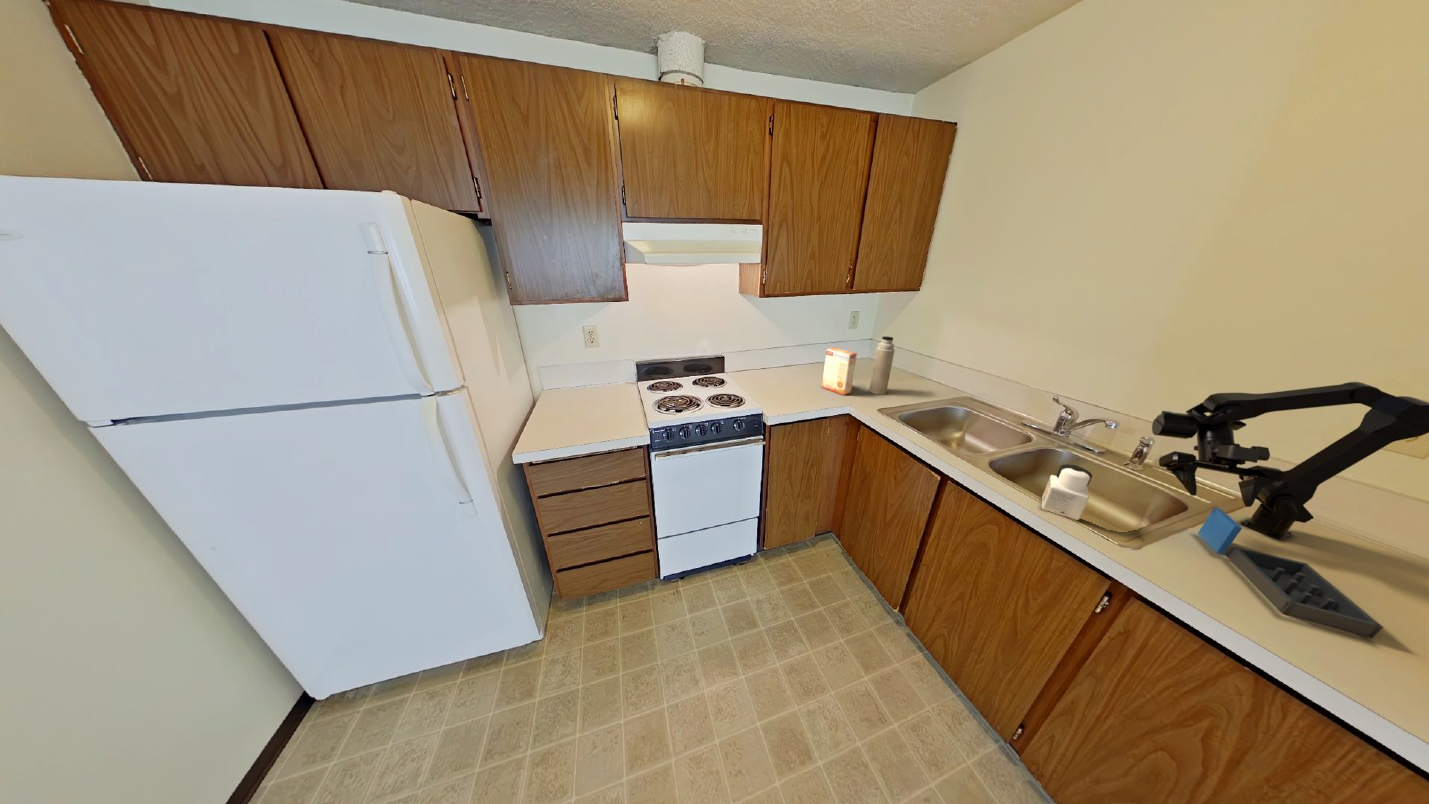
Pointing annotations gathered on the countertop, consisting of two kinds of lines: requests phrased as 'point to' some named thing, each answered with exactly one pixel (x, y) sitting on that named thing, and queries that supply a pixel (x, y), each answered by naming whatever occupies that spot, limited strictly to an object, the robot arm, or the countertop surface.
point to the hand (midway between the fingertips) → (1220, 500)
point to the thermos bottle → (882, 366)
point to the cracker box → (839, 370)
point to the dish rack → (1302, 592)
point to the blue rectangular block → (1219, 531)
